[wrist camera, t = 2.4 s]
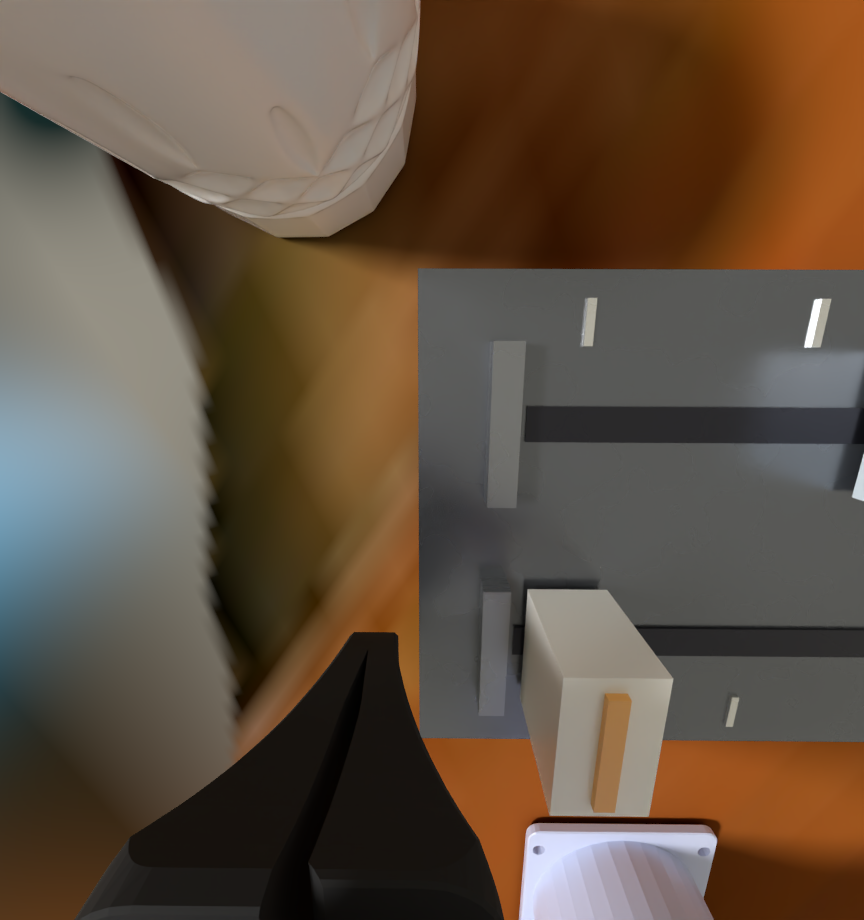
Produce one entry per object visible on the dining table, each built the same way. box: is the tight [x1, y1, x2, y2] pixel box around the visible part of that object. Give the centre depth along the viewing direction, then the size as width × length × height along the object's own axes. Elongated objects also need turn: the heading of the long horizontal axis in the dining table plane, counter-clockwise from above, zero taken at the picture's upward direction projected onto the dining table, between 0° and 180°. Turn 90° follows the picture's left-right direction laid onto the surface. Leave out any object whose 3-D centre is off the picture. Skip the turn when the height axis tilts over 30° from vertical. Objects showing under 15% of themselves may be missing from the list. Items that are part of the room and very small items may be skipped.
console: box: [418, 269, 864, 742], centre depth 13 cm, size 15×21×3 cm
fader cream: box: [520, 589, 673, 817], centre depth 11 cm, size 4×2×4 cm, turn 0°
